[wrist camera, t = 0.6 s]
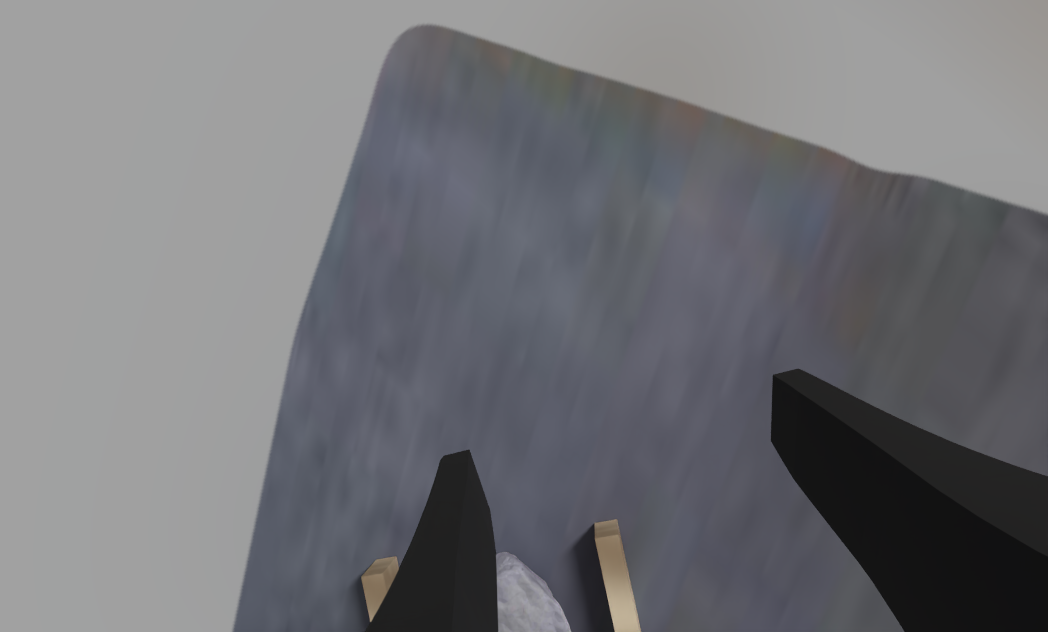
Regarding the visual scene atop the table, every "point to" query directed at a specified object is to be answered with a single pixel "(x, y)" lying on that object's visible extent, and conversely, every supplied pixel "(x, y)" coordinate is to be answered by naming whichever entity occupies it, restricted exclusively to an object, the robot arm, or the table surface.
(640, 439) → the table surface
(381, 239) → the table surface
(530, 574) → the stone block
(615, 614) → the pair of wooden posts
